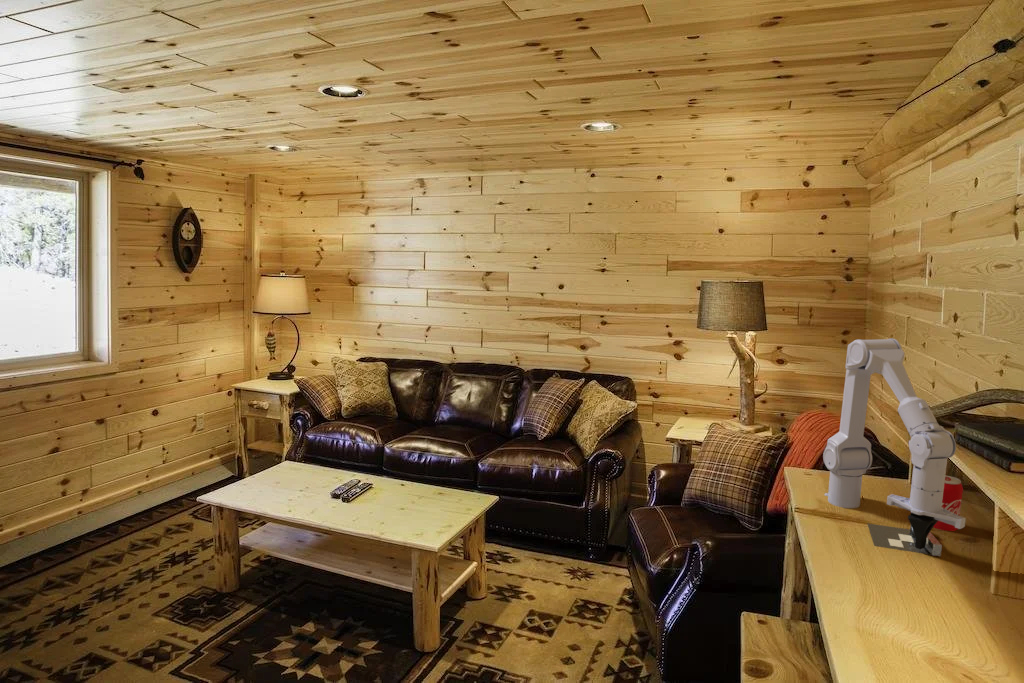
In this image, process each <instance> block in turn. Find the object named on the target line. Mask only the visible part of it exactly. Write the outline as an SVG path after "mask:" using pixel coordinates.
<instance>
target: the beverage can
mask: <svg viewBox="0 0 1024 683" xmlns="http://www.w3.org/2000/svg"><path fill="white" fill-rule="evenodd" d="M963 492H964V488H963V484H962V481H961V479H960V478H957V477H955V476H951V475H946V474H945V483H944V491H943V499H942V508H944V509H946V510H948V511H950V512H952V513H954V514H956V515H959V516H961V508H962V499H963ZM933 528H934V529H937V530H941V531H945V532H956V531H958V530H959V529H958V528H955V526H953V525H950V524H947V523H944V522H941V521H938V522H937V523H936V524H935V525H934V527H933ZM933 528H932V529H933Z"/></svg>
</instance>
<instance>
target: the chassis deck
mask: <svg viewBox="0 0 1024 683" xmlns="http://www.w3.org/2000/svg"><path fill="white" fill-rule="evenodd" d="M866 525H867V527H868V530H869V534H870V537H871V540H872V543H873V546H874V547H877V548H878V547H880V548H887V549H893V550H899V551H905V552H911V553H917V554H918V553H919V554H923V555H931V556H933V555H932V554H931V553H930V552H929V551H928V550H927V548H926V547H924V548H922V549H918V548H915V541H916V538H915V535H914V534H912V533H910V528H903V527H896V526H888V525H882V524H881V525H880V524H875V523H867V524H866ZM898 534H903V535H910V536H911V537H912V539H913V541H914V543H912V542H905V541H901V542H902V544H903V547H904V548H901V547H895V546H890V543H889V540H888V539H895V540H900V537H899V535H898Z"/></svg>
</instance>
